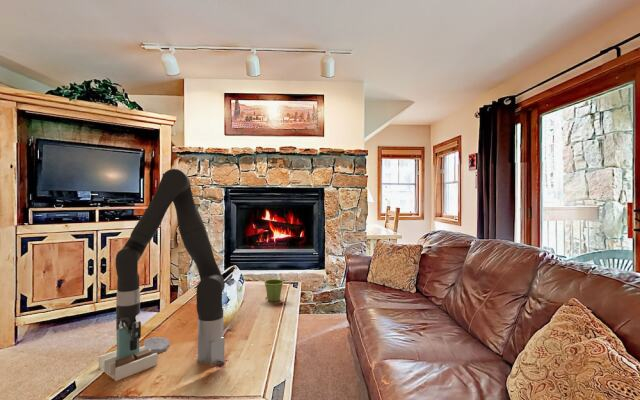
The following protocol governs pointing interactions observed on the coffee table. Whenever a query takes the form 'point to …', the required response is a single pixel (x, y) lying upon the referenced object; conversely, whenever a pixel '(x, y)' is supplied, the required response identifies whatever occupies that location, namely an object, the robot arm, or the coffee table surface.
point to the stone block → (156, 344)
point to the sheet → (124, 344)
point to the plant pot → (273, 289)
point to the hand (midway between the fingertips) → (128, 346)
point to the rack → (128, 369)
